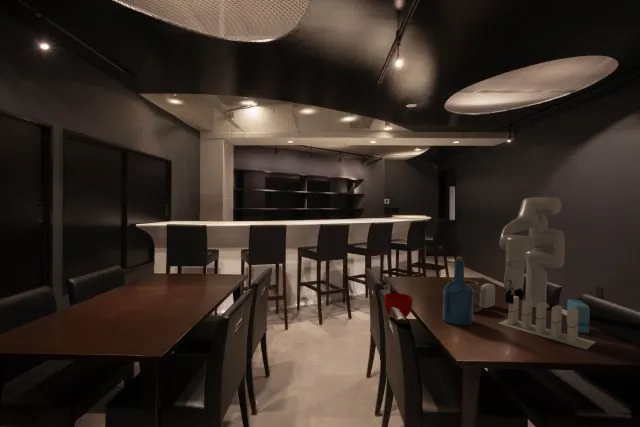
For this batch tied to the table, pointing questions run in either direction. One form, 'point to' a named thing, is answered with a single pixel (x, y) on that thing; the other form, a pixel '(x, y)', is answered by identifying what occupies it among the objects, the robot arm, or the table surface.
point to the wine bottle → (458, 298)
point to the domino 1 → (513, 311)
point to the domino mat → (547, 333)
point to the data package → (580, 314)
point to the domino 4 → (556, 321)
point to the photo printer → (487, 296)
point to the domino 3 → (541, 317)
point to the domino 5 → (572, 325)
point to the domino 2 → (526, 313)
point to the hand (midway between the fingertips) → (514, 301)
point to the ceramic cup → (398, 302)
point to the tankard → (476, 292)
